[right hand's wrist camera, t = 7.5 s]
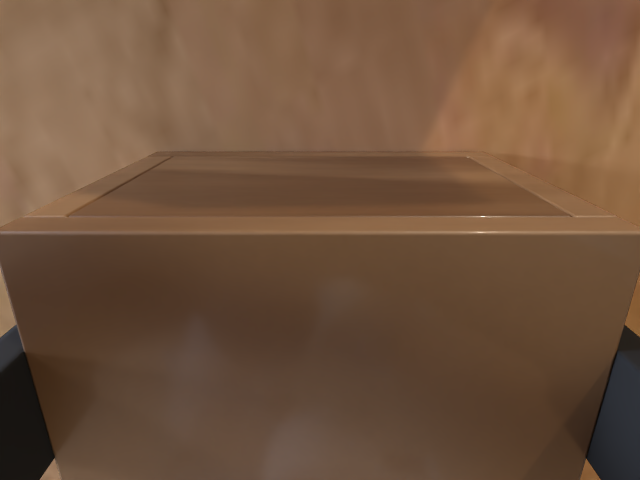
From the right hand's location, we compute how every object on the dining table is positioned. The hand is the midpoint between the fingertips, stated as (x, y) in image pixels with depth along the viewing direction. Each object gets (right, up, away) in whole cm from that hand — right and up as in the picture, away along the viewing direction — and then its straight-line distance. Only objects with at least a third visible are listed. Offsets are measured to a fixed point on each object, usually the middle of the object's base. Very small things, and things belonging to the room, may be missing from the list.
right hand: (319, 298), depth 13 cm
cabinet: (0, -5, +6) cm, 8 cm away
